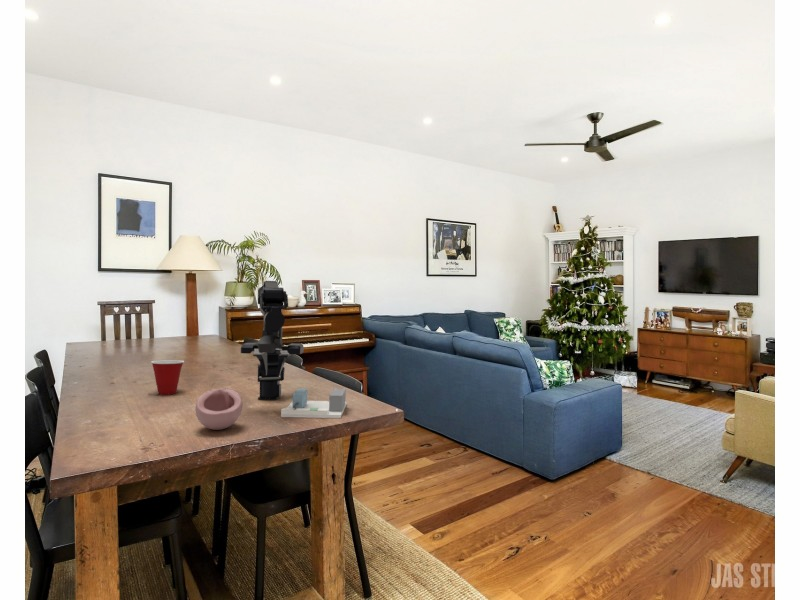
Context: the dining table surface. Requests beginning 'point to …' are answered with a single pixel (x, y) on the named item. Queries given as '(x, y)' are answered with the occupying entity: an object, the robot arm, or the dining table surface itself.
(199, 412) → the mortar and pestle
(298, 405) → the plunger
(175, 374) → the plastic cup
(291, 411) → the frame
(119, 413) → the dining table surface
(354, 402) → the dining table surface
